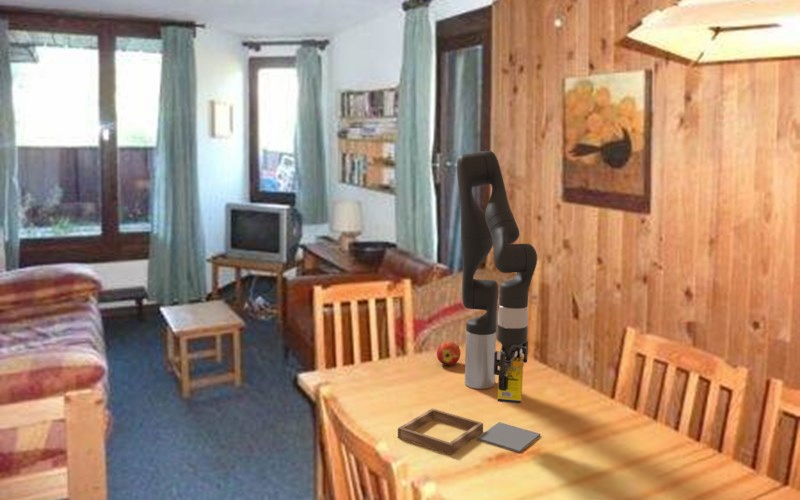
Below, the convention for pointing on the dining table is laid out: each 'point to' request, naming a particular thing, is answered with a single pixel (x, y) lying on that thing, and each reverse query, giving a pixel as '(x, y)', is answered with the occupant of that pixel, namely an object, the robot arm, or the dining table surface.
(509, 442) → the mat
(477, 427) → the frame
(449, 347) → the apple
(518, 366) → the supplement box
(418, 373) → the dining table surface
